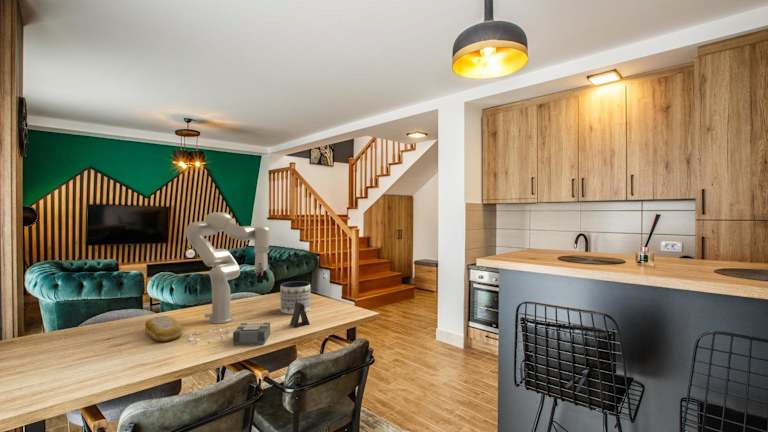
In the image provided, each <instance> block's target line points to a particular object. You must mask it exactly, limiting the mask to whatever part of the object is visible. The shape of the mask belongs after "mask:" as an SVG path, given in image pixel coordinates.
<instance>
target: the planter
mask: <svg viewBox="0 0 768 432" xmlns="http://www.w3.org/2000/svg"><path fill="white" fill-rule="evenodd" d="M279 301H280V312H281V313H283V314H286V315H293V313H294V310H295V303H296V302H298V303H299V302H300V303H302V304H304V306H305V307H304V310H305V312H306V313H307V312H309V311H310V310H311V283H310V282H308V281H302V280H301V281H298V280H297V281H296V280H295V281H287V282H283V283H281V284H280V300H279Z"/></svg>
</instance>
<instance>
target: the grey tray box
mask: <svg viewBox="0 0 768 432" xmlns="http://www.w3.org/2000/svg"><path fill="white" fill-rule="evenodd" d="M236 327H237V328H240V327H244V328H243V330H242V331H259V329H260V328H261V327H267V325H263V323H248V324H247V325H244V326H240V325H237V326H236ZM237 328H236V329H237Z"/></svg>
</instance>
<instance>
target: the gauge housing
mask: <svg viewBox="0 0 768 432" xmlns="http://www.w3.org/2000/svg"><path fill="white" fill-rule="evenodd" d="M247 324H249V323H248V322H246V323H243V322H242V323H240V324H239V326H244V325H247ZM262 325H267V327H261V328H260V329H259V331H242V330H243V328H244V327H240V328H236V329H235V330H233V332H232V346H233V347H236V346H255V345H258V346H261V345H265V344H266V342H267V340H268V339H269V337H270V335H271V322H263V323H262Z"/></svg>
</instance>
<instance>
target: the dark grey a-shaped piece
mask: <svg viewBox="0 0 768 432" xmlns="http://www.w3.org/2000/svg"><path fill="white" fill-rule="evenodd" d="M304 307H305V306H304V304H302V303H300V302H299V303H298V302H296V303H295V310H294V313H293V314H292V316H291V319H290V322H289V326H291V327H292V328H300V327H305V325H306V326H310V321H309V318H308V315H307V312H305V310H304ZM300 319H301V321H299V320H300Z"/></svg>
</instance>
